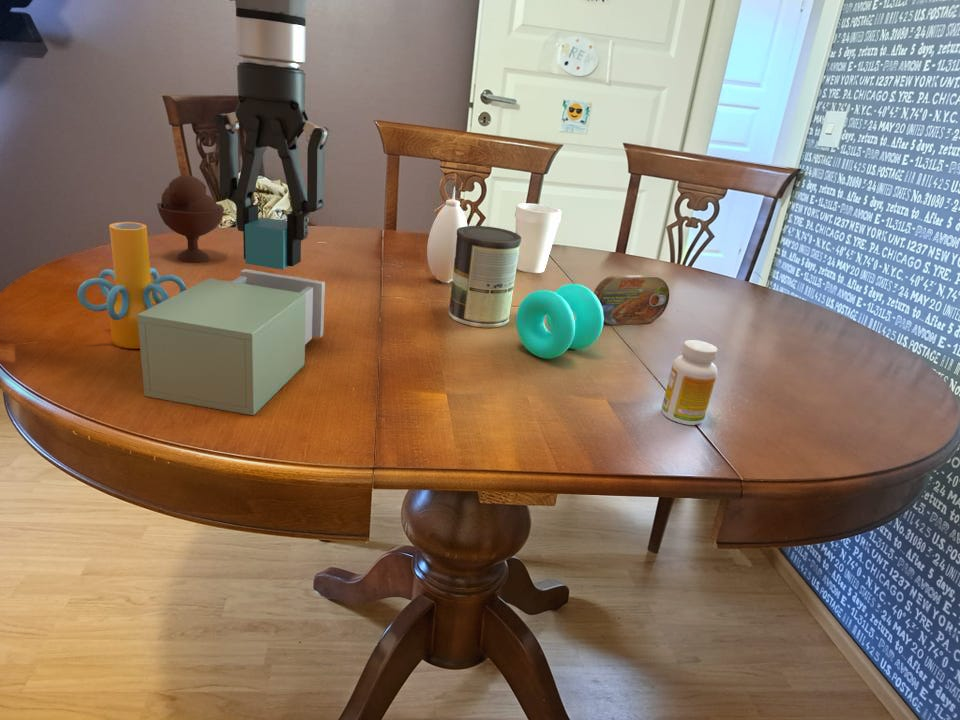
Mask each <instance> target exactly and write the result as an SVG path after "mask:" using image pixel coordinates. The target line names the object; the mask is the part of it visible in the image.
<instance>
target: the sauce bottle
mask: <svg viewBox="0 0 960 720" xmlns="http://www.w3.org/2000/svg"><path fill="white" fill-rule="evenodd" d="M460 205H461V202H460V201H459V200H458V199H456V185H453V189H452V196H451V198H449V199H447V200H445V205H444V206H442V208H441V209H440V210H439V212H438V214H437V215H436V217H435V219H434V221H433V223H432V225H431V228H430V231H429V235H428V239H427V245H426V246H427V247H426V257H427V258H426V259H427V264H428V268H429V270H430V273H431V274H432V275H433V276H435V279H436V280H438V281H440V282H441V283H444V284H449V283H450V282H452V280H453V270H454V260H455V251H456V241H457V229H458V228H460V227H464V226H468V222H467V218H466V216H465V213H464V211H463V208H462V207H461V206H460Z"/></svg>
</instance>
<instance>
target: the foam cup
mask: <svg viewBox="0 0 960 720" xmlns="http://www.w3.org/2000/svg"><path fill="white" fill-rule="evenodd" d="M514 212H515V213H514V217H515V233H516V234H518V235H520V236H521V238H522V239H521V243H520V246H519V253H518V260H517V267H516V270H518V271H521V272H524V273H530V274H534V273H535V274H539V273H543V272H545V269H546V267H547V263H548V260H549V256H550V253H551V250H552V246H553V243H554V239H555V236H556V233H557V229H558V227H559V224H560V223H561V217H562V210H561V209H560V208H557V207H554V206H551V205H546V204H539V203H530V202H529V203H528V202H524V203H522V202H521V203H517V204H516V206H515V211H514Z"/></svg>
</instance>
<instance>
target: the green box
mask: <svg viewBox="0 0 960 720" xmlns="http://www.w3.org/2000/svg"><path fill="white" fill-rule="evenodd" d="M305 316H306V294H305V293H298V292H292V291H286V290H280V289H274V288H267V287H261V286H255V285H249V284H243V283H236V282H231V280H222V279H219V278H218V279H217V278H212V277H209V278H206V279H204V280H202V281H200V282H199V283H196V284H194V285H192V286H191V287H189V288H186V290H185V291H183V292H181V293H180V292H179V293H176V294H175V295H173V296H171V297H169V299H167V300H165V301H163V302H161V303H159V304H157V305H155V306H153V307H151V308H149V309H147V310H145V311H143V312H141V313H139V314H137V318H138V321H139V322H138V328H139V339H140V348H139V349H140V358H141V360H140V361H141V370H142V371H141V372H142V380H143V381H142V383H143V396H144V397H146V398H153V399H157V400H164V401H168V402H174V403H182V404H185V405H191V406H192V405H193V406H198V407H204V408H208V409H215V410H220V411H226V412H231V413H237V414H243V415H248V416H255V415H256V414H257V413H258V412H259V411H260V410H261V409H262V408H263V407H264V406H265V405H266V404H267V403H268V402H269V401H270V400H271V399H272V398H273V397H274V396H275V395H276V394H277V393H278V392H279V391H280V390H281V389H282V388H283V387H284V386H285V385H286V384H287V383H288V382H289V381H290V380H291V379H292V378H293V377H294V376H295V375H296V374H297V373H298V372H299V371H300V370H301V369H302V368H303V367H304V366H305V364H306V362H305V361H306V360H305V359H306V345H305Z"/></svg>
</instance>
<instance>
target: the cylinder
mask: <svg viewBox="0 0 960 720" xmlns="http://www.w3.org/2000/svg"><path fill="white" fill-rule="evenodd" d="M108 228H109V237H110V238H109V239H110V249H111V257H112V258H111V259H112V266H113V269H110V268H105V269H103V270H101V272H99V275H98V277H93V278H88V279H86V280H85V281H83V282H82V283H81V284H80V285H79V287H78V289H77V294H76V295H77V299H78V301H79V304H81V306H82V307H83V308H85V309H87V310H89V311H93V312H104V311H106V312H107V314H108V316H109V325H110V326H109V327H110V335H111V341H112V343H113V345H115V346H117V347H119V348H123V349H130V350H132V349H133V350H134V349H136V350H137V349H140V339H139V328H138V322H139V321H138V318H137V314H139V313H141V312H143V311H145V310H147V309H149V308H151V307H153V306H155V305H157V304H159V303H161V302H163V301H165V300H167V299H169V298H170V296H169V294H168V292H167V291H166V289H165V288H164V287H162V285H161V284H162V283H165V282H173V283H175V284H176V285H178V287H179V293H181V292H183V291H185V290H186V289H187V285H186V283H185V282H184V280H183V279H181V278H180V277H179V276H177V275H174V274H163V275H159V272H158V270H157V269H156V268H154V267H151V263H150V251H149V239H148V238H149V237H148V226H147V225H146V224H144V223H141V222H134V221H133V222H132V221H121V222H113V223H110V224H109V225H108ZM107 276H110V278H112V279H113V280H114V284H113V283H112V282H111V281H110V280H107V279H106V278H107ZM94 285H98V288H99V290H100V292H101V294H102V295H103V297H104V298H105V299H106V302H105V303H102V304H93V303H92V302H90V301H88V299H87V298H86V291H87V290H88V288H89V287H91V286H94Z"/></svg>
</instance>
